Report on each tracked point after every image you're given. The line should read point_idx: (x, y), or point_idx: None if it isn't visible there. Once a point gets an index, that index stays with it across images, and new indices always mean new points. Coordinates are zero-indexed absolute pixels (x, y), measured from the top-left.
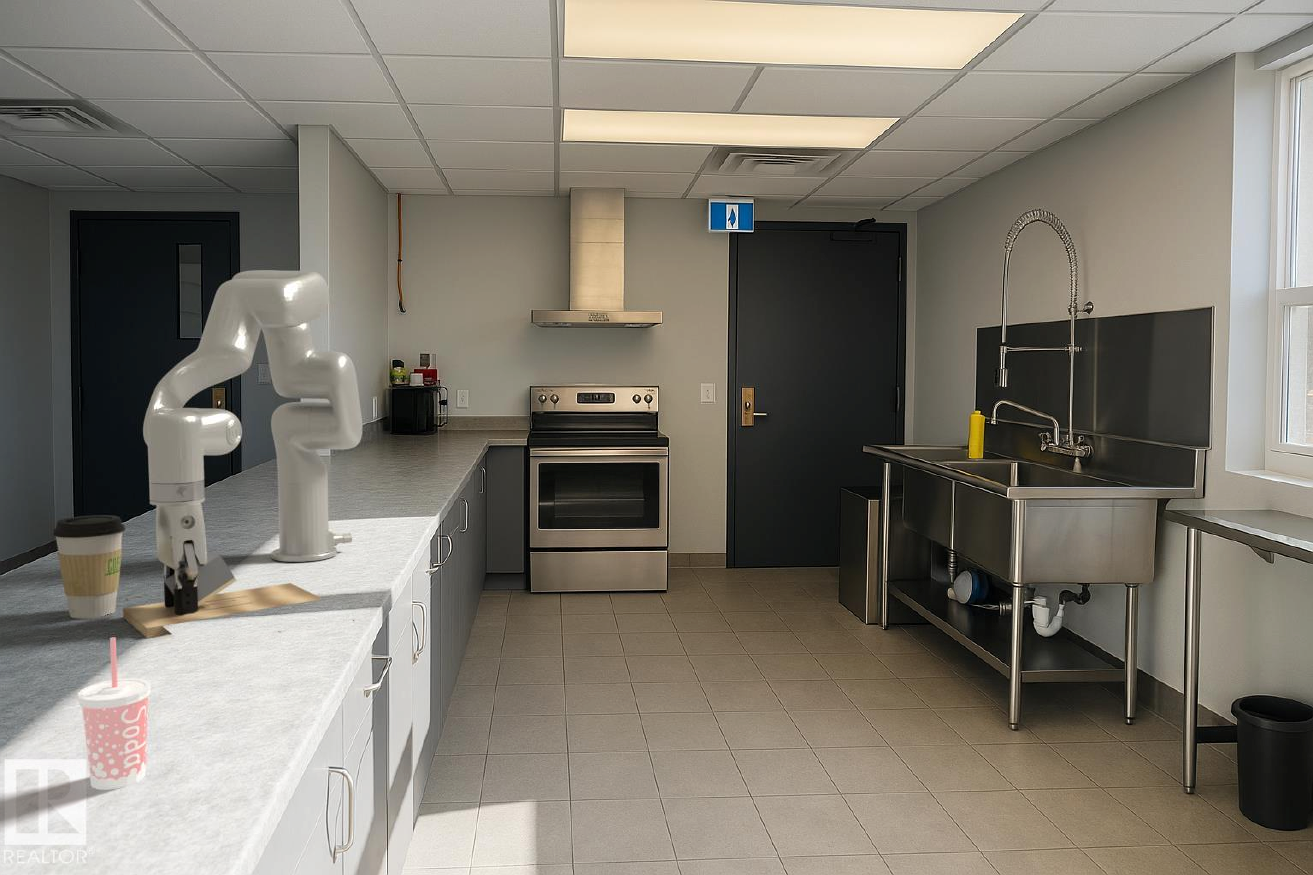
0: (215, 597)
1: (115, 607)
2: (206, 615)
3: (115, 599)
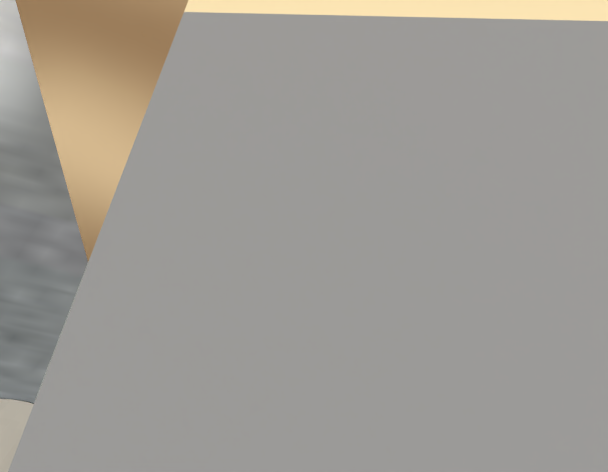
0: (132, 55)
1: (20, 415)
2: None
3: (10, 452)
